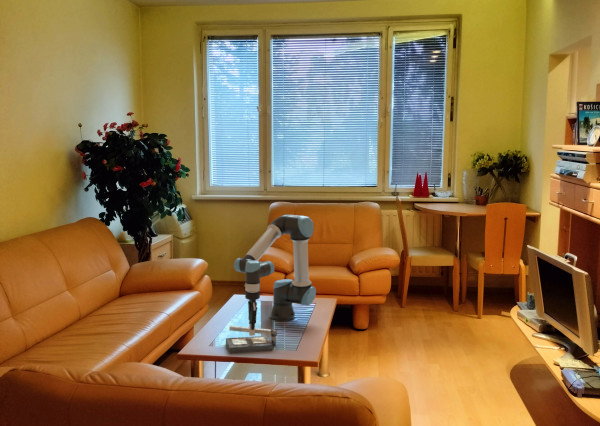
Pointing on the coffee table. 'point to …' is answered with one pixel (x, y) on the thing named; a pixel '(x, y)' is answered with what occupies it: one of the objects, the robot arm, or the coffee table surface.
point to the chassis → (250, 344)
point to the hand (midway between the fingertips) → (252, 335)
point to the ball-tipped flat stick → (261, 331)
